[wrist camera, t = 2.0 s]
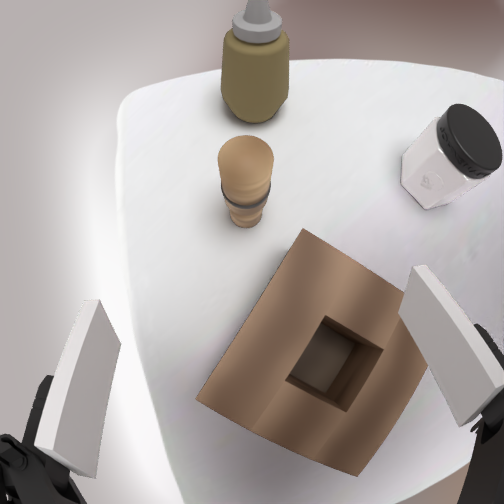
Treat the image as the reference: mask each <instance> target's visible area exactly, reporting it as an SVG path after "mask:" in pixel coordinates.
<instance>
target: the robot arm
mask: <svg viewBox="0 0 504 504" xmlns="http://www.w3.org/2000/svg"><path fill="white" fill-rule="evenodd" d="M398 314H399V315H400V317H401V319H402V320H403V322H404V324H405V325H406V327H407V329H408V331H409V332H410V334H411V336H412V337H413V339H414V341H415V343H416V344H417V346H418V348H419V350H420V352H421V353H422V355H423V357H424V359H425V361H426V363H427V364H428V366H429V368H430V370H431V372H432V374H433V376H434V378H435V379H436V381H437V383H438V385H439V387H440V389H441V391H442V393H443V395H444V397H445V399H446V401H447V403H448V405H449V407H450V409H451V412H452V414H453V416H454V418H455V420H456V422H457V424H458V427H461V426H463V425H465V424H467V423H469V422H471V421H473V420H474V419H475V418H476V417H477V416H478V415H479V414H480V413H481V414H482V418H481V419H480V420H479V421H478V422H477V423H476V424H475V425H474V426H473V427H472V428H471V431H470V432H473V431H474V430H475V429H476V428H478V430H477V431H476V432H475V433H476V434H477V437H476V441H475V446H474V450H473V454H472V458H471V462H470V465H469V469H468V472H467V476H466V479H465V482H464V485H463V488H462V491H461V494H460V497H459V500H458V503H457V504H504V355H503V354H502V352H501V351H500V349H499V350H498V347H497V345H496V344H495V342H493V339H492V338H491V336H490V335H489V334H488V332H487V331H486V330H485V329H484V328H482V327H481V326H480V325H479V324H474V325H473V324H472V323H471V321H470V320H469V318H468V317H467V316H466V314H465V313H464V312H463V310H462V309H461V308H460V306H459V305H458V304H457V302H456V301H455V300H454V299H453V297H452V296H451V295H450V293H449V292H448V291H447V290H446V288H445V287H444V286H443V285H442V283H441V282H440V281H439V280H438V279H437V277H436V276H435V275H434V274H433V272H432V271H431V270H430V269H429V268H428V267H427V265H420V266H413V267H412V270H411V273H410V277H409V280H408V284H407V287H406V290H405V293H404V296H403V300H402V303H401V306H400V309H399V312H398ZM120 346H121V343H120V341H119V339H118V337H117V335H116V333H115V331H114V329H113V327H112V325H111V323H110V321H109V319H108V316H107V314H106V312H105V310H104V308H103V306H102V304H101V301H100V300H85V301H84V302H83V305H82V307H81V309H80V312H79V314H78V316H77V318H76V321H75V323H74V326H73V328H72V330H71V333H70V335H69V338H68V340H67V343H66V345H65V348H64V350H63V353H62V356H61V359H60V361H59V364H58V367H57V369H56V372H55V375H54V376H51V375H47V376H46V377H45V378H44V380H43V381H42V382H41V384H40V386H39V388H38V391H37V394H36V399H35V400H34V403H33V406H32V407H33V409H31V413H30V416H29V419H28V422H27V426H26V430H25V433H24V437H23V440H22V443H20V442H19V441H18V440H16V439H15V438H14V437H12V436H11V435H9V434H3V435H0V504H87V503H86V501H85V499H84V498H83V496H82V495H81V493H80V491H79V490H78V488H77V486H76V484H75V483H74V481H73V480H72V479H71V477H70V476H69V473H70V470H71V471H72V472H74V473H76V474H77V475H80V476H85V477H90V478H95V479H96V473H97V465H98V457H99V451H100V445H101V438H102V432H103V426H104V421H105V415H106V410H107V405H108V399H109V395H110V390H111V385H112V380H113V376H114V372H115V368H116V363H117V359H118V355H119V351H120ZM6 494H7V495H8V499H9V500H8V501H7V497H6Z"/></svg>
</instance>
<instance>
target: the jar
mask: <svg viewBox="0 0 504 504" xmlns="http://www.w3.org/2000/svg"><path fill="white" fill-rule="evenodd" d="M501 162H502V149H501V145H500V142H499V139H498V137H497V135H496V133H495V132H494V130H493V128H492V127H491V125H490V124H489V123H488V122H487V120H486V119H485V118H484V117H483V116H482V115H481V114H479V113H478V112H477V111H476V110H474V109H472V108H471V107H469V106H466V105H463V104H454V105H452V106H450V107H449V108H448V110H447V111H446V112H445V113H444V114H443V115H442V117H436V118H434V120H433V121H432V122H431V123H430V124H429V125H428V127H427V128H426V129H425V130H424V131H423V132H422V133H421V135H420V136H419V137H418V138H417V139H416V140H415V142H414V143H413V144H412V145H411V146H410V147H409V148H408V149H407V151H406V152H405V153H404V154H403V155H402V174H401V185H402V186H403V187H404V188H405V189H406V190H407V191H408V192H409V193H410V194H411V195H412V196H413V197H414V198H415V199H416V200H417V201H418V202H419V204H420V205H421V206H422V207H423V208H424V209H426V210H427V209H430V208H434V207H438V206H442V205H445V204H449V203H451V202H452V201H454V200H455V199H457V198H458V197H460V196H461V195H463V194H465V193H466V192H468V191H469V190H471V189H472V188H474V187H475V186H477V185H478V184H480V183H481V182H483V181H484V180H486V179H487V178H489V177H490V174H491V173H492V172H494V171H495V170H497V169H498V168H499V167H500V165H501Z"/></svg>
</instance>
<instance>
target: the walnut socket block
mask: <svg viewBox="0 0 504 504" xmlns="http://www.w3.org/2000/svg"><path fill="white" fill-rule="evenodd" d="M403 296H404V292H402V291H401V290H399V289H398V288H396V287H395V286H393V285H392V284H390V283H389V282H387V281H386V280H384V279H383V278H381V277H379V276H378V275H376V274H375V273H373V272H372V271H370V270H369V269H367V268H366V267H364V266H363V265H361V264H359V263H358V262H356V261H355V260H353V259H352V258H350V257H349V256H347V255H345V254H344V253H342V252H341V251H339V250H337V249H336V248H334V247H333V246H331V245H329V244H328V243H326V242H325V241H323V240H321V239H320V238H318V237H317V236H315V235H313V234H312V233H310V232H308V231H307V230H305V229H302V230H301V232H300V233H299V235H298V237H297V238H296V240H295V241H294V243H293V245H292V246H291V248H290V249H289V251H288V253H287V254H286V256H285V258H284V259H283V261H282V263H281V264H280V266H279V268H278V269H277V271H276V272H275V274H274V276H273V277H272V279H271V281H270V282H269V284H268V285H267V287H266V289H265V290H264V292H263V294H262V295H261V297H260V298H259V300H258V302H257V303H256V305H255V306H254V308H253V310H252V311H251V313H250V314H249V316H248V318H247V319H246V321H245V322H244V324H243V325H242V327H241V329H240V330H239V332H238V333H237V335H236V336H235V338H234V340H233V341H232V343H231V344H230V346H229V347H228V349H227V351H226V352H225V354H224V355H223V357H222V358H221V360H220V361H219V363H218V364H217V366H216V367H215V369H214V371H213V372H212V374H211V375H210V377H209V378H208V380H207V381H206V383H205V384H204V386H203V388H202V389H201V391H200V392H199V394H198V395H197V397H196V400H197V401H199V402H201V403H202V404H204V405H206V406H207V407H209V408H210V409H212V410H214V411H216V412H217V413H219V414H221V415H222V416H224V417H226V418H228V419H229V420H231V421H233V422H235V423H237V424H239V425H240V426H242V427H244V428H246V429H248V430H250V431H252V432H254V433H256V434H257V435H259V436H261V437H263V438H265V439H267V440H269V441H271V442H274V443H276V444H278V445H280V446H282V447H284V448H286V449H288V450H291V451H293V452H295V453H297V454H300V455H302V456H304V457H307V458H309V459H311V460H314V461H316V462H319V463H321V464H324V465H326V466H329V467H331V468H334V469H337V470H339V471H342V472H345V473H347V474H350V475H353V476H356V477H358V475H359V474H360V473H361V471H362V470H363V469H364V468H365V466H366V465H367V464H368V462H369V461H370V460H371V458H372V457H373V456H374V454H375V453H376V451H377V450H378V449H379V447H380V446H381V444H382V443H383V441H384V440H385V438H386V437H387V435H388V434H389V432H390V431H391V429H392V428H393V426H394V425H395V423H396V422H397V420H398V418H399V417H400V415H401V414H402V412H403V410H404V409H405V407H406V405H407V404H408V402H409V400H410V398H411V397H412V395H413V393H414V391H415V389H416V388H417V386H418V384H419V382H420V380H421V378H422V376H423V375H424V373H425V371H426V369H427V367H428V364H427V363H426V361H425V359H424V357H423V355H422V353H421V352H420V350H419V348H418V346H417V344H416V343H415V341H414V339H413V337H412V336H411V334H410V332H409V331H408V329H407V327H406V325H405V324H404V322H403V320H402V319H401V317H400V315H399V314H398V312H399V309H400V306H401V303H402V300H403Z"/></svg>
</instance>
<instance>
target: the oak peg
mask: <svg viewBox="0 0 504 504" xmlns="http://www.w3.org/2000/svg"><path fill="white" fill-rule="evenodd" d="M273 162H274V156H273V152H272V150H271V148H270V147H269V145H268V144H267V143H266V142H264V141H263V140H261V139H260V138H257V137H254V136H248V135H243V136H238V137H235V138H232V139H230V140H229V141H227V142H226V143H225V144H224V145H223V146H222V147H221V149H220V151H219V154H218V166H219V171H220V177H221V189H222V193H223V196H224V199H225V202H226V205H227V206H228V208H229V209H230V215H231V219H232V221H233V222H234V223H235V224H236V225H237V226H239V227H242V228H250V227H253V226H255V225H256V224H257V223H258V222H259V221H260V219H261V216H262V210H263V207H264V206H265V204H266V202H267V198H268V195H269V192H270V187H271V181H270V180H271V174H272V168H273Z"/></svg>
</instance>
